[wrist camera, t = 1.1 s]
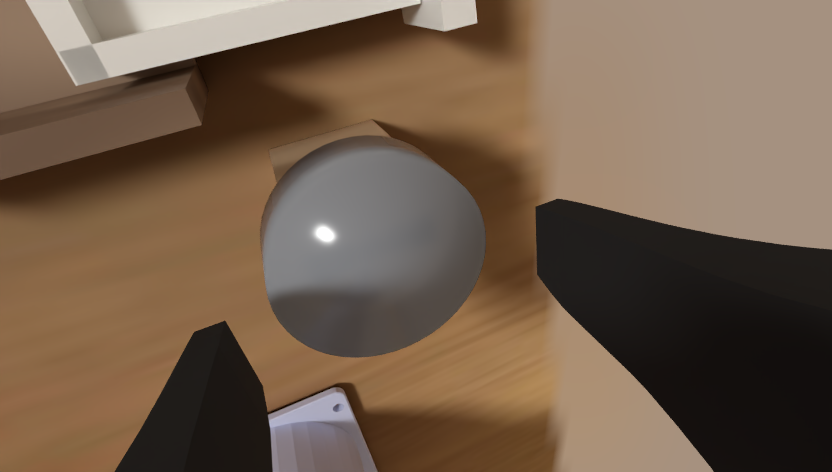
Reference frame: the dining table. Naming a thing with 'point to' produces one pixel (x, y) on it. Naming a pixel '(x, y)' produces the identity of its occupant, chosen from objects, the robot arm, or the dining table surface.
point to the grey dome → (369, 246)
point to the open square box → (81, 101)
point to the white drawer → (203, 27)
